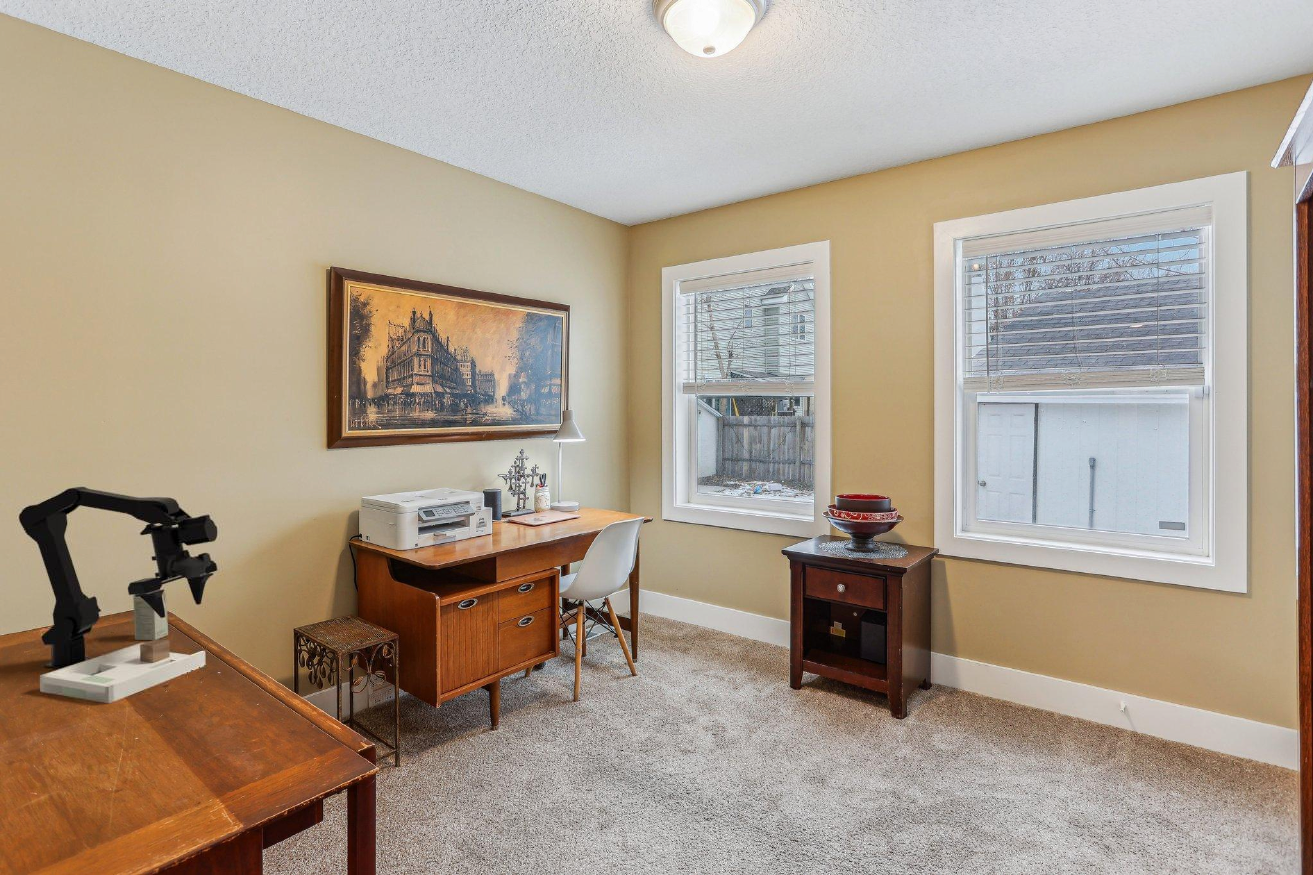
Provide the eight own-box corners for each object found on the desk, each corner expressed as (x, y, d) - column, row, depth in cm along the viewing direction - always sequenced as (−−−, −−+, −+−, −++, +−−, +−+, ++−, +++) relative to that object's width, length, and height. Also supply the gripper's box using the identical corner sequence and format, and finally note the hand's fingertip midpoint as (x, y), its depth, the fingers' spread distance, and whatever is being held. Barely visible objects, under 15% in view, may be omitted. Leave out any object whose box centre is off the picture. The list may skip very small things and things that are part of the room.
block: (140, 661, 157) (140, 644, 157) (156, 655, 161) (156, 639, 161) (153, 663, 156) (153, 646, 156) (169, 657, 160) (169, 640, 160)
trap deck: (40, 691, 144) (39, 675, 144) (142, 656, 165) (142, 642, 165) (108, 703, 139) (108, 686, 139) (205, 665, 160) (205, 651, 160)
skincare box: (168, 635, 181) (168, 591, 180) (155, 640, 176) (154, 595, 176) (147, 634, 181) (146, 590, 181) (133, 639, 177) (132, 594, 177)
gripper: (155, 557, 151) (168, 623, 152) (228, 537, 169) (239, 596, 170) (120, 560, 154) (133, 625, 155) (195, 540, 172) (206, 598, 173)
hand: (181, 610), depth 164 cm, fingers open, 9 cm apart
